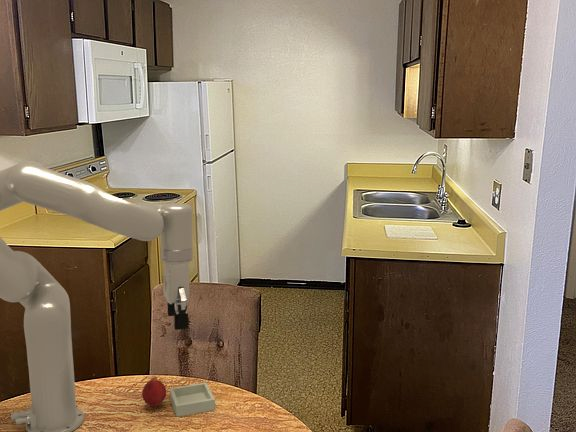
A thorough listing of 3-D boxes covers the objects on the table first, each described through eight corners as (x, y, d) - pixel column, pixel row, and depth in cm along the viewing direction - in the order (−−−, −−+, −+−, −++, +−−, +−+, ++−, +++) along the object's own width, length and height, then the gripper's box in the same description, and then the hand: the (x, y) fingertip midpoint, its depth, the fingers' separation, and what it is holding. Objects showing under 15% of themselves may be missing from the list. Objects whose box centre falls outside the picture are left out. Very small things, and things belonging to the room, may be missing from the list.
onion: (153, 415, 137) (151, 384, 136) (137, 407, 141) (136, 377, 139) (171, 405, 142) (170, 375, 140) (156, 398, 145) (155, 369, 144)
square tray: (176, 417, 137) (176, 406, 136) (169, 398, 145) (169, 388, 145) (215, 409, 140) (215, 399, 139) (206, 392, 149) (206, 382, 148)
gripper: (156, 247, 143) (157, 312, 146) (167, 264, 128) (168, 336, 130) (185, 245, 146) (185, 309, 149) (200, 262, 130) (200, 332, 133)
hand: (177, 321), depth 140 cm, fingers open, 9 cm apart
